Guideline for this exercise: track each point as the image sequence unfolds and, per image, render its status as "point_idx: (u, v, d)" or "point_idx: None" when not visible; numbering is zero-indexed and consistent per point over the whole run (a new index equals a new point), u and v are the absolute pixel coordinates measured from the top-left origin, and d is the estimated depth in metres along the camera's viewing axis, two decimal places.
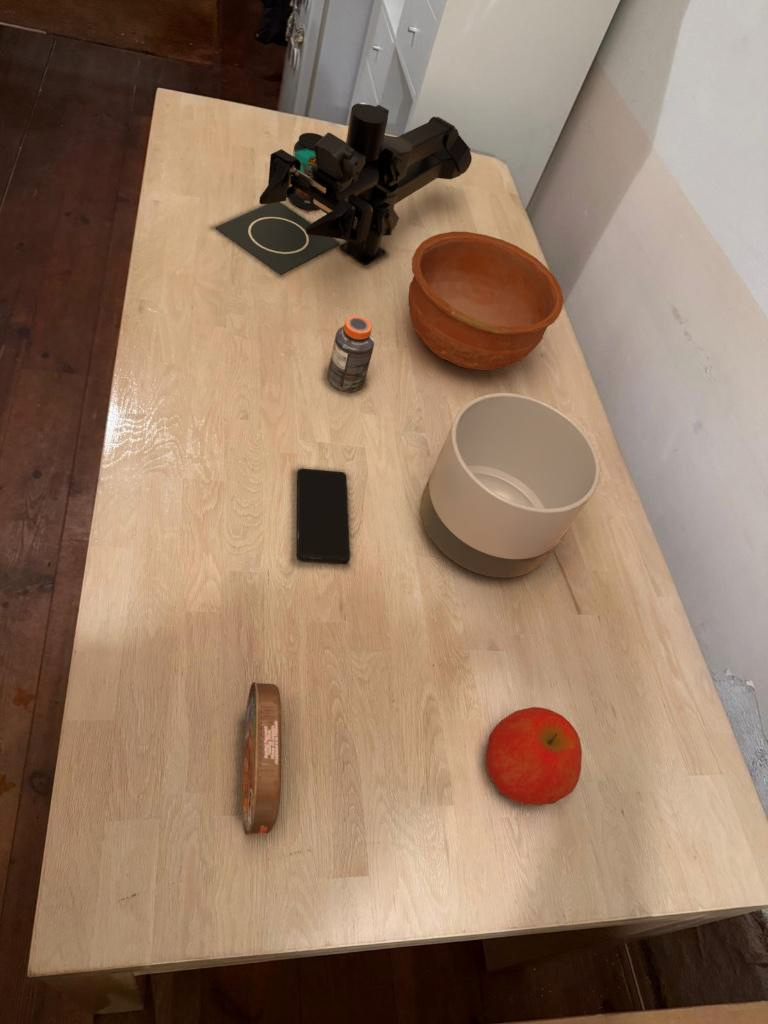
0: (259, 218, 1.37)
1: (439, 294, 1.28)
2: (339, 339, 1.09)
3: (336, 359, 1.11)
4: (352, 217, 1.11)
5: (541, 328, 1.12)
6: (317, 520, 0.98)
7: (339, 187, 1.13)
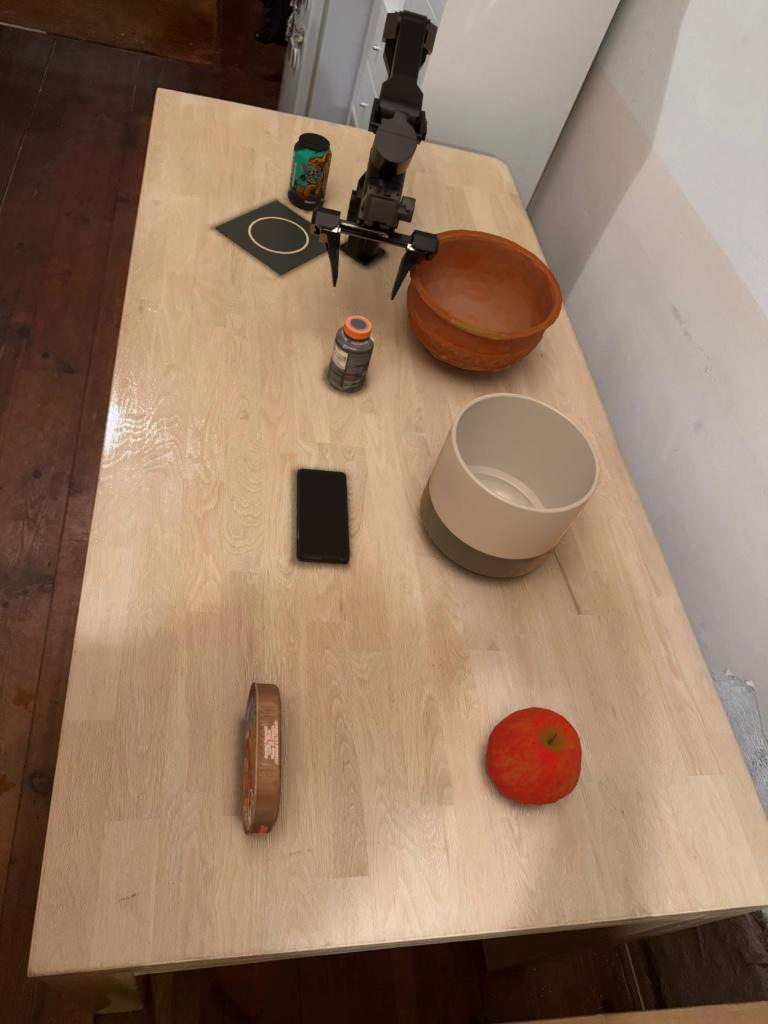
0: (259, 218, 1.37)
1: (437, 293, 1.27)
2: (339, 339, 1.09)
3: (336, 359, 1.11)
4: (423, 259, 1.09)
5: (541, 331, 1.12)
6: (317, 520, 0.98)
7: (396, 228, 1.07)
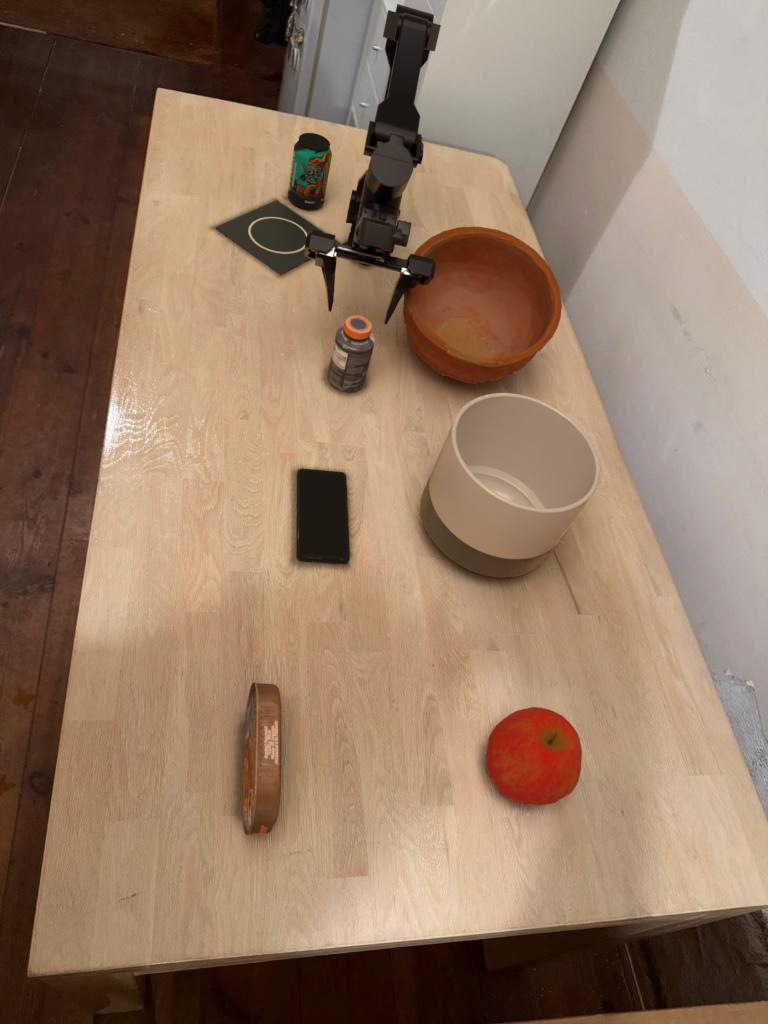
0: (259, 218, 1.37)
1: (435, 289, 1.24)
2: (339, 339, 1.09)
3: (336, 359, 1.11)
4: (417, 283, 1.07)
5: (538, 350, 1.12)
6: (317, 520, 0.98)
7: (391, 252, 1.05)
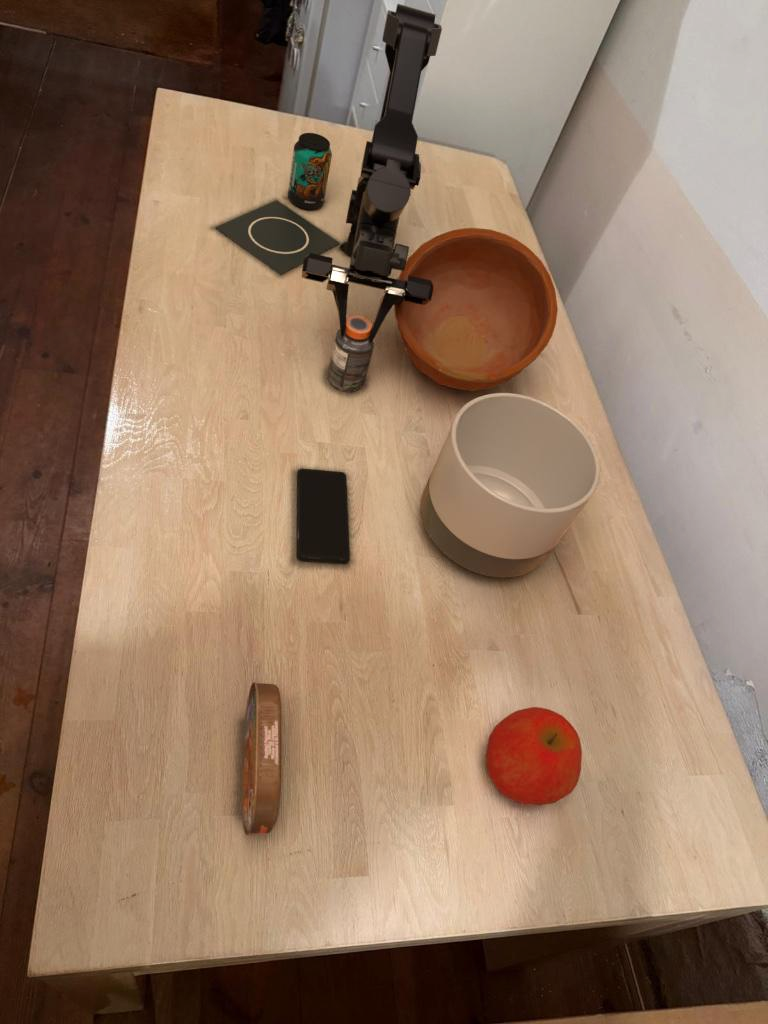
0: (259, 218, 1.37)
1: None
2: (339, 339, 1.09)
3: (336, 359, 1.11)
4: (402, 301, 1.07)
5: (532, 361, 1.11)
6: (317, 520, 0.98)
7: (389, 274, 1.05)
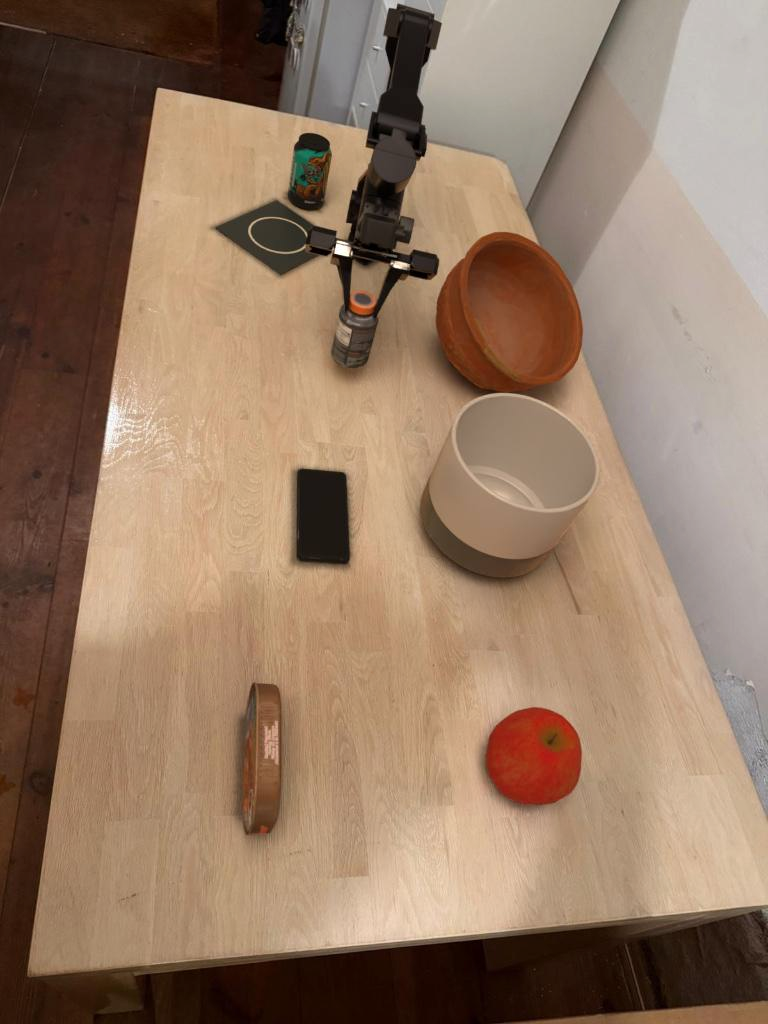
0: (259, 218, 1.37)
1: (466, 281, 1.22)
2: (343, 314, 1.07)
3: (339, 335, 1.10)
4: (407, 276, 1.05)
5: (554, 381, 1.15)
6: (317, 520, 0.98)
7: (394, 248, 1.03)
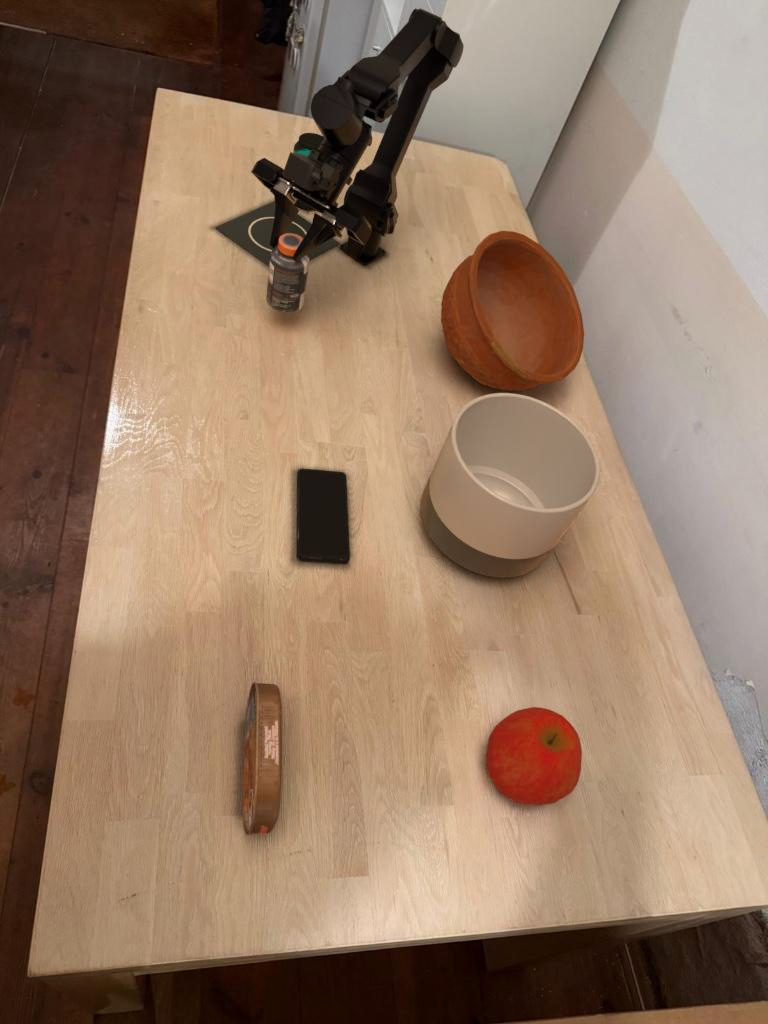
0: (259, 218, 1.37)
1: None
2: (272, 251, 1.11)
3: None
4: (331, 228, 1.06)
5: (557, 380, 1.16)
6: (317, 520, 0.98)
7: (325, 197, 1.05)
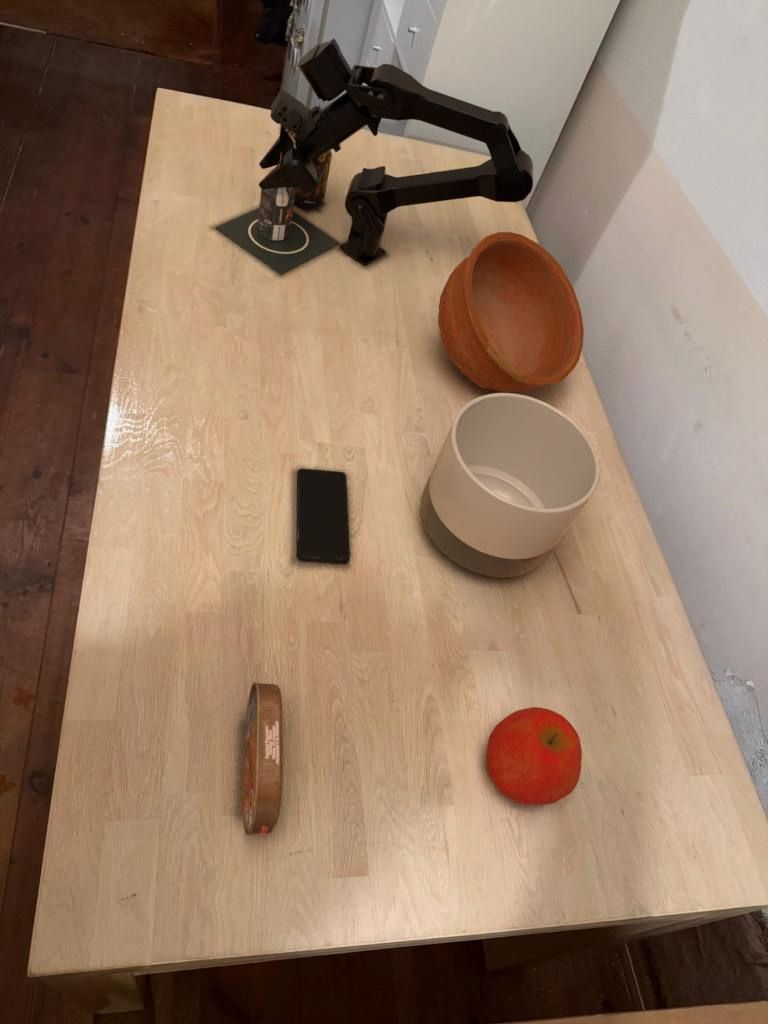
0: None
1: None
2: None
3: None
4: (285, 169, 1.19)
5: (555, 382, 1.16)
6: (317, 520, 0.98)
7: (295, 141, 1.20)
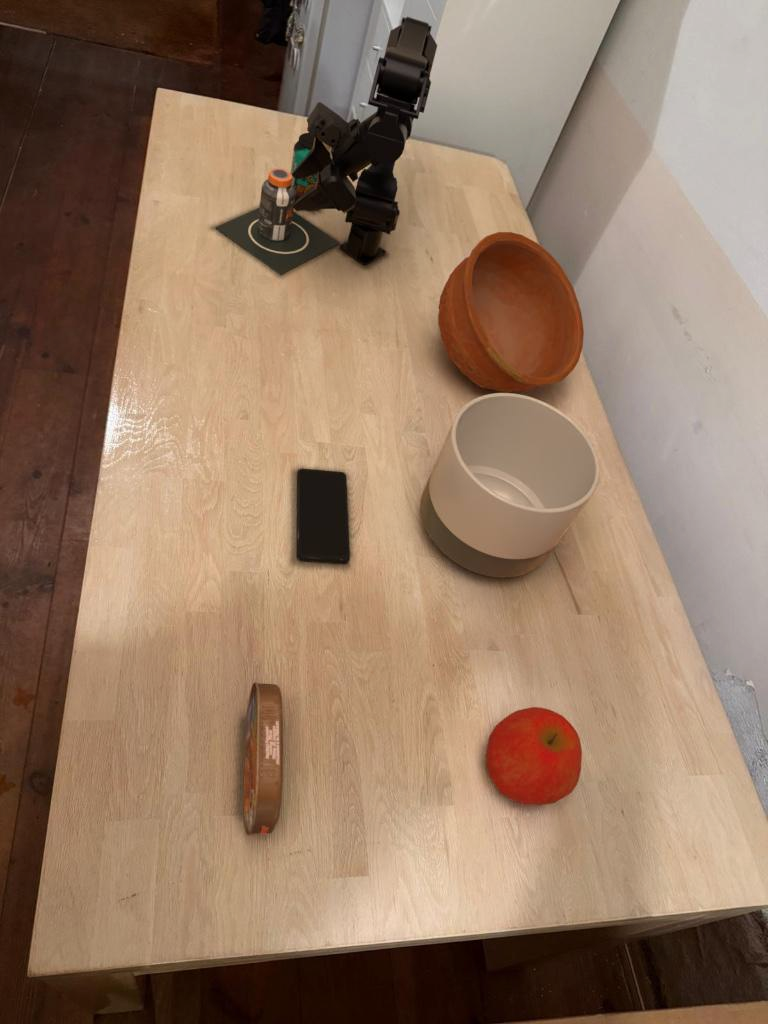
0: None
1: None
2: None
3: None
4: (322, 190, 1.13)
5: (555, 382, 1.16)
6: (317, 520, 0.98)
7: (333, 155, 1.14)
